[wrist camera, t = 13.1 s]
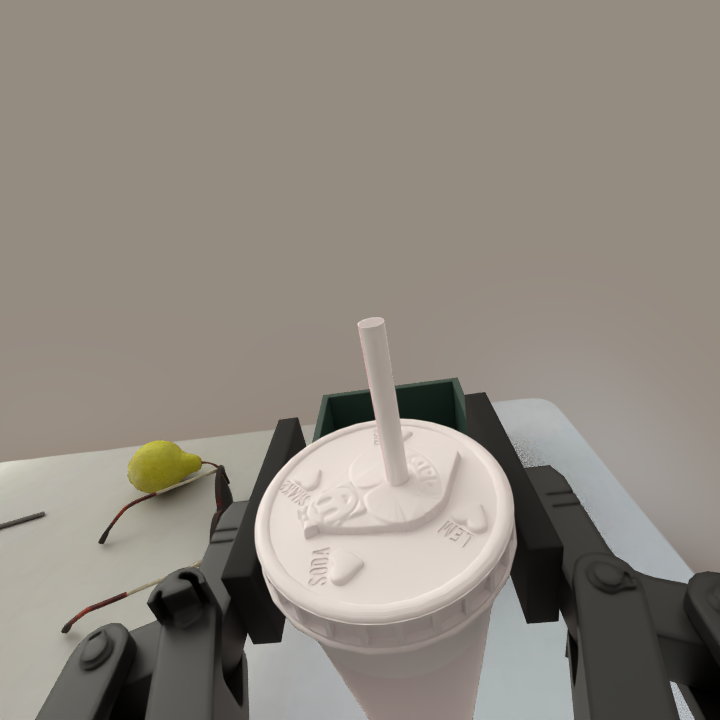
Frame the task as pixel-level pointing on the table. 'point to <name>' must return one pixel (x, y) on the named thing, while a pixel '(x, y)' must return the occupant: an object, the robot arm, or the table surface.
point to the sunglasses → (221, 494)
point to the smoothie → (391, 552)
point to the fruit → (161, 466)
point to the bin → (414, 402)
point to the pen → (22, 519)
